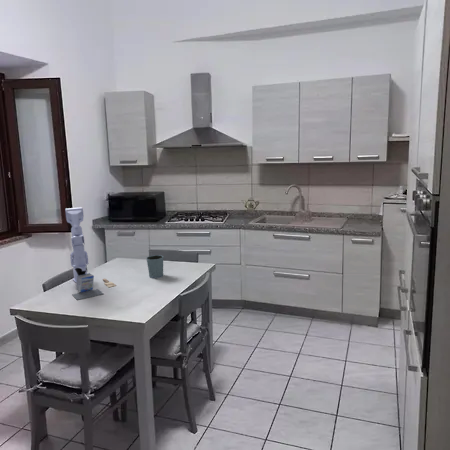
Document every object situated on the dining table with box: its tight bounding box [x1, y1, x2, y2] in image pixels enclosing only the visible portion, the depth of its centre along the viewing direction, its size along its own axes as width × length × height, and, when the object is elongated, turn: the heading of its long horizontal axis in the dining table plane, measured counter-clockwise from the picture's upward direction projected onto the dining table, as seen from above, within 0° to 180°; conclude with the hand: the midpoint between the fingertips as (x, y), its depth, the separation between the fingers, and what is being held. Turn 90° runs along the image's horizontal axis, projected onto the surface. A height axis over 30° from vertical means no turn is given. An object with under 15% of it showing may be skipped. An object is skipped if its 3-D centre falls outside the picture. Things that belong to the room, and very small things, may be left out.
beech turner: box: [102, 278, 117, 288], centre depth 235 cm, size 15×4×1 cm, turn 34°
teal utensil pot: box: [146, 254, 164, 279], centre depth 245 cm, size 10×10×12 cm
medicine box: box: [75, 272, 95, 293], centre depth 222 cm, size 8×4×9 cm, turn 142°
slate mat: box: [72, 288, 104, 301], centre depth 217 cm, size 10×14×1 cm
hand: (82, 280), depth 225 cm, fingers closed
